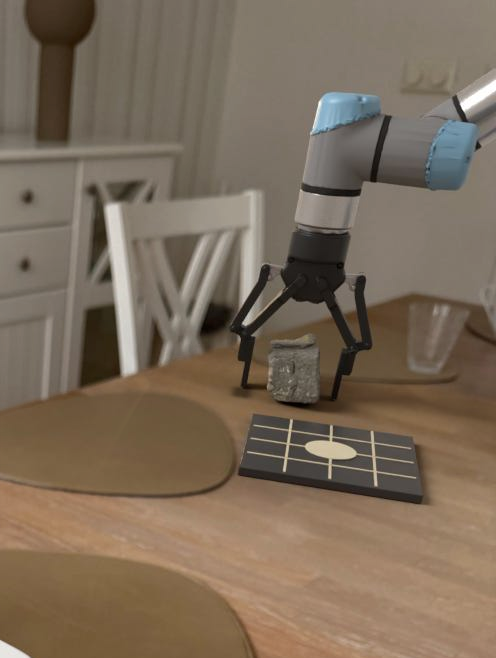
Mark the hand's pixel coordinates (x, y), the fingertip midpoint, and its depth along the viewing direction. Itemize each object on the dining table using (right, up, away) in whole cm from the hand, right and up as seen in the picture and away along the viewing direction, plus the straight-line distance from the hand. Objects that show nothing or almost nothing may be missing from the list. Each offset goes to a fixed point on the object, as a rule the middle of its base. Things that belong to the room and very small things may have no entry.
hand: (288, 390), depth 139 cm
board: (-1, -14, -22) cm, 26 cm away
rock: (0, 0, 0) cm, 0 cm away
